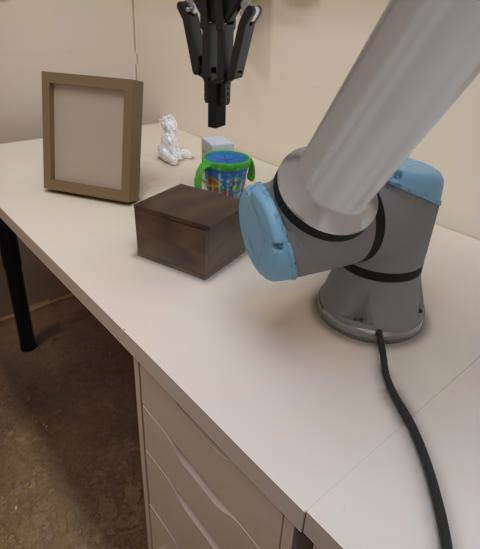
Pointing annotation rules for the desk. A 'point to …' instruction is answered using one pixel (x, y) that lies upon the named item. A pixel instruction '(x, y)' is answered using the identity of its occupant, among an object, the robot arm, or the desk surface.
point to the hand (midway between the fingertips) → (216, 125)
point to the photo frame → (92, 135)
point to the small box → (215, 146)
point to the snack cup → (225, 172)
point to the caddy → (188, 244)
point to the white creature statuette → (171, 142)
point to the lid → (191, 206)
